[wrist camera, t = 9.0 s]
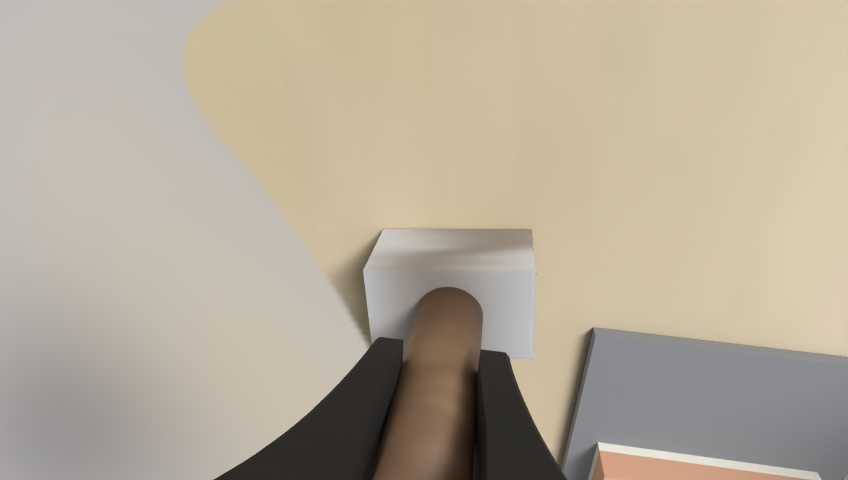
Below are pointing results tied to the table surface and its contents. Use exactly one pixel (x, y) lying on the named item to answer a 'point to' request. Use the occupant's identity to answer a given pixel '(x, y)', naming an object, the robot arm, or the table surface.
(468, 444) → the trowel
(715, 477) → the tile
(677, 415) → the mat
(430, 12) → the table surface
